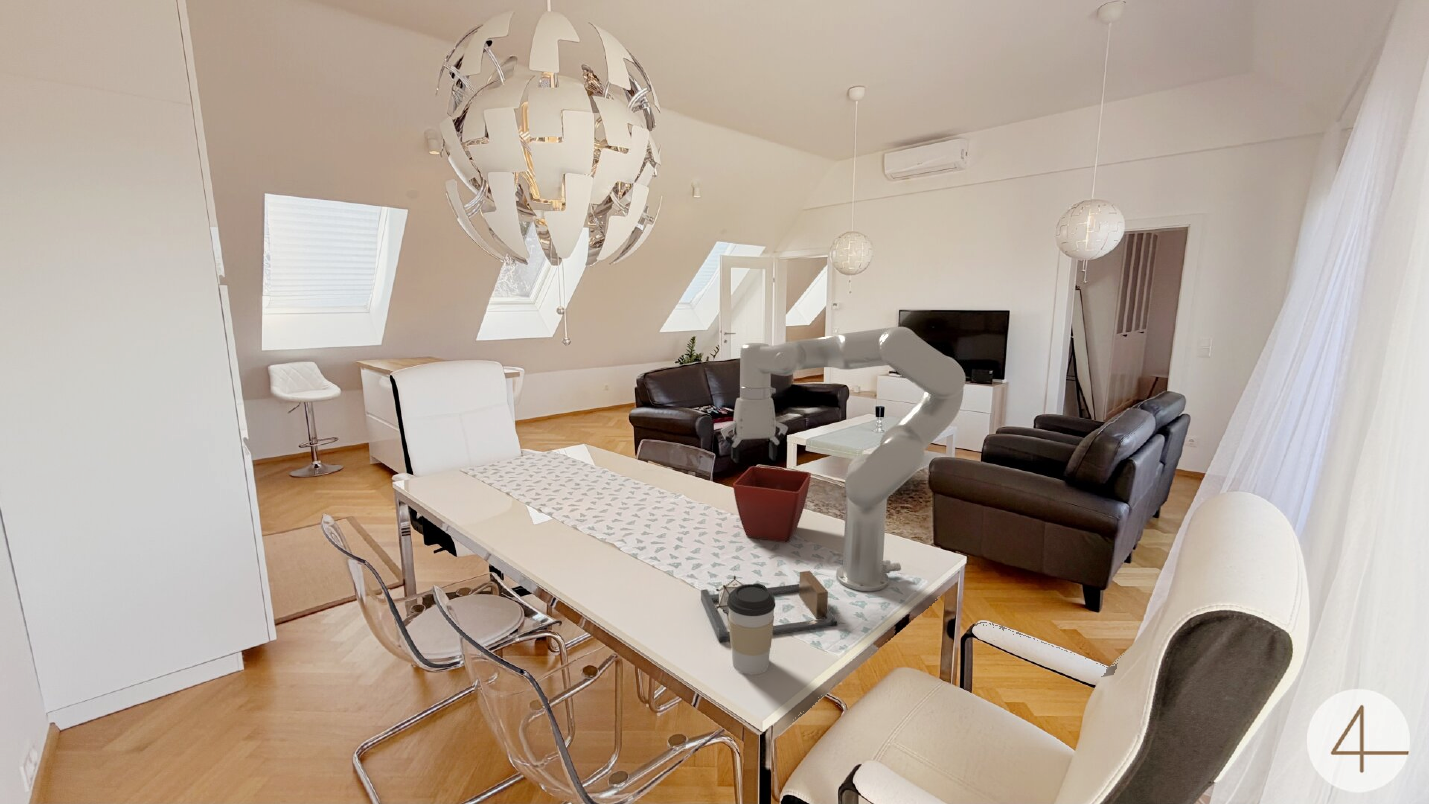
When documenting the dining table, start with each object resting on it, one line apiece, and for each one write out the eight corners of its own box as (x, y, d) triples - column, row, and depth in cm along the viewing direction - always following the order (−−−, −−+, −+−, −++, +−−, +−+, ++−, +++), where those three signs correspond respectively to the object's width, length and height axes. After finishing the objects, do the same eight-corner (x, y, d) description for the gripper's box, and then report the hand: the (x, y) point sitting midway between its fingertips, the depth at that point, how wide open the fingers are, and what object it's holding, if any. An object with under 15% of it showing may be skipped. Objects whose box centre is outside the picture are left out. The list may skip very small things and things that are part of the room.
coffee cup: (754, 685, 104) (755, 608, 102) (717, 664, 110) (717, 591, 108) (783, 662, 111) (785, 589, 108) (746, 643, 117) (747, 574, 114)
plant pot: (796, 550, 160) (798, 491, 157) (731, 540, 167) (731, 484, 164) (810, 524, 178) (811, 472, 175) (750, 516, 184) (751, 465, 181)
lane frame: (806, 587, 140) (807, 563, 138) (837, 625, 123) (838, 599, 122) (700, 600, 133) (700, 575, 132) (718, 642, 117) (718, 615, 116)
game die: (730, 626, 130) (730, 580, 134) (763, 623, 125) (761, 576, 130) (706, 622, 123) (707, 574, 128) (740, 619, 119) (739, 569, 123)
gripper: (782, 389, 149) (781, 454, 152) (717, 392, 145) (717, 458, 148) (793, 394, 142) (791, 462, 145) (725, 397, 138) (724, 466, 141)
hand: (754, 460), depth 146 cm, fingers open, 9 cm apart
